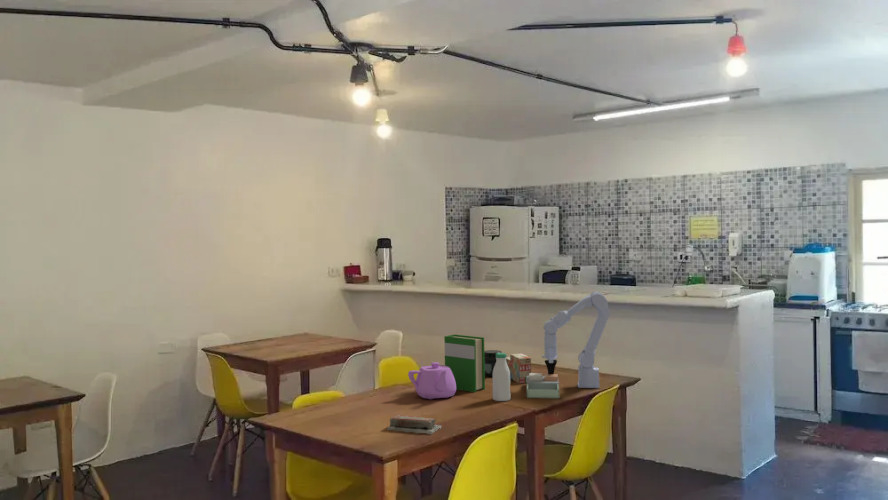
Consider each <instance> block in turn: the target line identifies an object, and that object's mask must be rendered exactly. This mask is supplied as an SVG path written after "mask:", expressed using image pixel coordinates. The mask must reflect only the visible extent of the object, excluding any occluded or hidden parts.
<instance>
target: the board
mask: <svg viewBox="0 0 888 500" xmlns="http://www.w3.org/2000/svg"><path fill="white" fill-rule="evenodd" d="M525 384H526V387H527V384H528V389H532V390H557V384H558V385H559V386H560V380H559V379H558V381H545V375H542V380H529V376H527V382H526V383H525Z"/></svg>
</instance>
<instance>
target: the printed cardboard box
mask: <svg viewBox="0 0 888 500" xmlns="http://www.w3.org/2000/svg"><path fill="white" fill-rule="evenodd" d="M506 363H507V365H508V368H509V370H510V380H513V382H514V381H515V382H516V383H518V384H526V382H527V376H529V373H532V357H531V356H528V355H526V354H524V353H520V352H519V353H510V354H509V356H506Z"/></svg>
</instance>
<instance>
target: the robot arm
mask: <svg viewBox="0 0 888 500" xmlns="http://www.w3.org/2000/svg"><path fill="white" fill-rule="evenodd" d="M592 307H594V308H595V311H596V312H597V316H596V319H595V321H594V324H593V327H592V329H591V331H590V334H589V337H588V339H587V342H586V344H585V346H584V347H583V349H582V351H581V352H580V353H579V354H578V357H577V359H578V362H579V365H578V370H577V371H578V382H577V388H579V389H582V388H583V389H599V388H600V370H599V369H600V368H599V367H595V365H594V364H595V356H596V350H597V349H598V344H599V342H600V340H601V337H602V336H603V335H602V334H603V332H604V330H605V327H606V324H607V322H608V320H609V317H610V308H609V304H608V300H607V298H606V297H605V295H604V294H603V293H600V292H599V291H593V292H591V293H590V294H588V295H586V296H584V297H583V298H582V299H580V300H579V301H577V303H575V304H574V305H573V306H571V307H570V308H569V309H567V310H559V311H558V312H557V314H556V315H554V316H553V317H550V318H549V319H550V320H547V321H545V322H544V324H543V330H544V333H543V334H544V338H543V339H544V341H543V342H544V343H543V345H544V355H541V358H543V359H545V360H544V364H545V366H546V369H547V374H555V369H556V366H557V363H558V360H557V359H558V341H557V340H558V338H557V337H558V336H557V331H558V329H561V328H563V326H565V325H566V324H568V323H569V322H570V321H571V319H572V317H573V316H575V315H576V314H578V313H579V312H581V311H582V310H584V309H585V308H592Z"/></svg>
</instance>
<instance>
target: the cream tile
mask: <svg viewBox="0 0 888 500" xmlns="http://www.w3.org/2000/svg"><path fill="white" fill-rule="evenodd" d="M542 376H543V373H542V372H531V373H529V380H542Z"/></svg>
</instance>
